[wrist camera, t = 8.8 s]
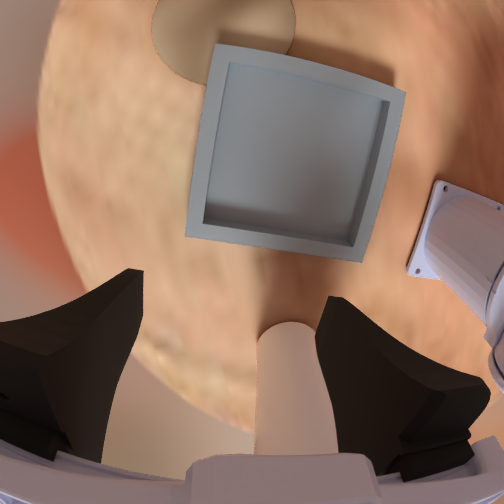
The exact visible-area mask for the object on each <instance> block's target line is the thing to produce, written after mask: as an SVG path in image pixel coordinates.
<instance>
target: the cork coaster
mask: <svg viewBox="0 0 504 504" xmlns="http://www.w3.org/2000/svg"><path fill="white" fill-rule="evenodd" d="M295 26H296V22H295V13H294V9H293V6H292V3H291V1H290V0H159V2H158V4H157V6H156V8H155V11H154V14H153V18H152V26H151V32H152V40H153V43H154V46H155V49H156V51H157V53H158V55H159V56H160V58H161V59H162V60H163V62H164V63H165V64H166V65H167V66H168V67H169V68H170V69H171V70H173V71H174V72H175V73H177V74H178V75H180V76H182V77H183V78H185V79H187V80H190V81H192V82H195V83H198V84H202V85H207V82H208V76H209V71H210V66H211V61H212V56H213V51H214V47H215V43H216V44H224V45H231V46H238V47H245V48H251V49H257V50H262V51H268V52H273V53H278V54H283V55H285V54H286V52H287V51H288V49H289V47H290V45H291V43H292V41H293V37H294V33H295Z"/></svg>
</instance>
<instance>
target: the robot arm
mask: <svg viewBox="0 0 504 504" xmlns="http://www.w3.org/2000/svg"><path fill="white" fill-rule="evenodd" d="M444 186H446V188H445V190H444V191H443V188H444ZM497 208H498V209H497ZM416 269H418V271H416ZM415 271H416V272H415ZM143 272H144V271H142V270H136V269H130V268H128V269H126V270H124V271H123V272H121V273H120V274H118V275H116V276H115V277H113V278H112V279H110V280H109V281H107V282H105V283H104V284H102V285H101V286H99V287H97V288H96V289H94V290H92V291H90V292H88V293H87V294H85V295H83V296H81V297H79V298H78V299H76V300H73V301H71V302H69V303H67V304H65V305H62V306H60V307H58V308H55V309H52V310H50V311H46V312H43V313H40V314H37V315H34V316H30V317H26V318H22V319H18V320H12V321H6V322H0V504H490V503H492V502H493V501H495V500H496V499H497V498H498V497H500V496H501V495H502V494H504V451H503V449H502V447H501V446H500V444H499V442H498V441H497V439H496V437H495V436H491V437H488V438H485V439H482V440H480V441H477V442H475V443H474V444H472V445H471V446H470V444H469V442H468V439H469V438H470V437H471V433H470V431H469V430H468V428H469V427H470V426H471V425H472V424H473V423H474V421H475V420H476V419H477V418H478V417H479V416H480V414H481V413H482V412H483V410H484V409H485V408H486V406H487V404H488V402H489V400H490V395H491V392H490V389H489V388H488V387H487V385H486V384H485V382H484V381H483V380H482V379H481V378H480V377H477V376H473V375H470V374H467V373H463V372H460V371H457V370H454V369H452V368H449V367H446V366H444V365H442V364H439V363H437V362H435V361H433V360H431V359H429V358H427V357H425V356H423V355H421V354H419V353H417V352H415V351H414V350H412V349H411V348H409V347H407V346H406V345H404V344H403V343H401V342H400V341H398V340H397V339H395V338H394V337H392V336H391V335H390V334H388V333H387V332H386V331H384V330H383V329H382V328H381V327H379V326H378V325H377V324H375V323H374V322H373V321H372V320H371V319H369V318H368V317H367V316H366V315H365V314H363V313H362V312H361V311H360V310H359V309H357V308H356V307H355V306H354V305H352V304H351V303H350V302H349V301H347V300H346V299H344V298H343V297H334V296H328V299H327V302H326V305H325V308H324V311H323V314H322V317H321V319H320V322H319V325H318V328H317V331H316V333H315V336H314V337H315V345H316V351H317V357H318V361H319V364H320V367H321V371H322V374H323V377H324V381H325V384H326V387H327V390H328V394H329V397H330V400H331V404H332V408H333V414H334V420H335V427H336V434H337V443H338V453H333V454H315V455H252V454H227V455H214V456H210V457H207V458H204V459H200V460H198V461H196V462H194V463H193V464H192V465H191V467H190V468H189V469H188V470H187V471H186V480H179V479H172V478H165V477H159V476H153V475H148V474H143V473H138V472H133V471H128V470H124V469H120V468H116V467H112V466H108V465H104V464H101V459H102V452H103V444H104V440H105V433H106V429H107V423H108V419H109V415H110V410H111V406H112V401H113V398H114V394H115V390H116V387H117V384H118V381H119V378H120V376H121V373H122V371H123V368H124V366H125V364H126V361H127V359H128V357H129V354H130V352H131V349H132V347H133V345H134V342H135V340H136V338H137V335H138V332H139V328H140V325H141V321H142V317H143ZM406 272H407V273H408V274H409V275H410V276H415V277H422V278H429V279H436V280H442V281H443V282H444V283H445V284H446V285H447V286H448V287H449V288H450V289H451V290H452V291H453V292H454V293H455V294H456V295H457V296H458V297H459V298H460V299H461V300H462V301H463V302H464V303H465V304H466V305H467V306H468V307H469V308H470V309H471V310H472V311H473V313H474V314H475V315H476V316H477V317H478V318H479V319H480V320H481V321H482V322H483V323H484V324H485V325H486V327H487V330H486V333H485V335H484V339H485V340H486V341H487V342H488V343H489V345H490V346H491V347H492V350H491V352H490V354H489V358H488V365H489V369H490V373H491V375H492V377H493V379H494V381H495V383H496V385H497V386H498V388H499V389H500V390H501V391H502V393H503V394H504V205H503V204H500V203H498V202H496V201H493V200H491V199H489V198H486V197H484V196H481V195H479V194H476V193H474V192H471V191H469V190H466V189H464V188H461V187H458V186H456V185H453V184H450V183H447V182H445V181H442V180H437V181H436V182H435V183H434V186H433V190H432V193H431V197H430V200H429V204H428V207H427V210H426V213H425V217H424V220H423V223H422V226H421V229H420V232H419V235H418V238H417V241H416V244H415V246H414V249H413V252H412V255H411V257H410V260H409V263H408V266H407V268H406Z"/></svg>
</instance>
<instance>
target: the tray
mask: <svg viewBox="0 0 504 504" xmlns="http://www.w3.org/2000/svg"><path fill="white" fill-rule="evenodd" d="M405 96H406V92H405V91H402V90H400V89H397V88H394V87H392V86H389V85H386V84H384V83H381V82H378V81H375V80H372V79H370V78H367V77H364V76H361V75H358V74H354V73H351V72H348V71H345V70H342V69H338V68H335V67H331V66H328V65H324V64H320V63H316V62H313V61H309V60H305V59H300V58H296V57H292V56H287V55H283V54H278V53H273V52H268V51H262V50H257V49H251V48H245V47H238V46H231V45H224V44H216V43H215V47H214V51H213V56H212V61H211V66H210V71H209V76H208V82H207V87H206V93H205V98H204V104H203V109H202V115H201V121H200V127H199V134H198V140H197V146H196V153H195V160H194V167H193V174H192V181H191V189H190V197H189V205H188V213H187V222H186V231H185V237H192V238H199V239H206V240H213V241H220V242H227V243H233V244H240V245H247V246H254V247H261V248H267V249H274V250H281V251H287V252H294V253H301V254H307V255H314V256H321V257H327V258H334V259H341V260H347V261H354V262H360V263H362V261H363V258H364V255H365V252H366V249H367V246H368V243H369V239H370V236H371V233H372V230H373V226H374V223H375V220H376V216H377V213H378V210H379V206H380V203H381V199H382V195H383V192H384V188H385V184H386V181H387V177H388V173H389V169H390V165H391V161H392V157H393V153H394V149H395V144H396V140H397V135H398V131H399V126H400V122H401V117H402V112H403V107H404V101H405Z"/></svg>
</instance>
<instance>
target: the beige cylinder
mask: <svg viewBox="0 0 504 504" xmlns="http://www.w3.org/2000/svg"><path fill="white" fill-rule="evenodd" d="M315 333H316V332H315V331H314V330H313V329H312V328H311V327H309V326H308V325H306V324H303V323H300V322H283V323H279V324H276V325H274V326H272V327H270V328H269V329H267V330H266V331H265V332H264V333H263V334H262V335H261V337H260V338H259V340H258V342H257V346H256V359H257V382H256V410H255V433H254V455H315V454H333V453H338V443H337V434H336V427H335V420H334V414H333V408H332V404H331V400H330V397H329V394H328V390H327V387H326V384H325V381H324V377H323V374H322V371H321V367H320V364H319V361H318V357H317V351H316V345H315V337H314V336H315Z"/></svg>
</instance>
